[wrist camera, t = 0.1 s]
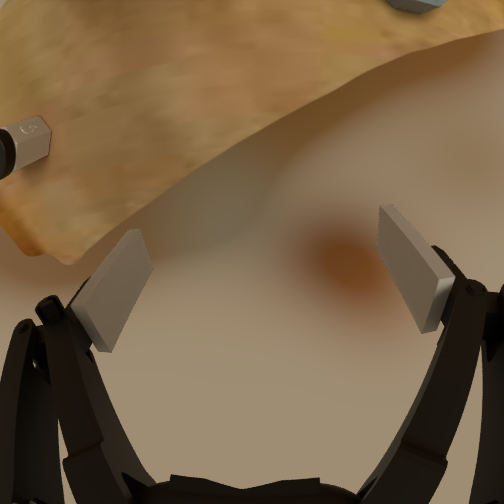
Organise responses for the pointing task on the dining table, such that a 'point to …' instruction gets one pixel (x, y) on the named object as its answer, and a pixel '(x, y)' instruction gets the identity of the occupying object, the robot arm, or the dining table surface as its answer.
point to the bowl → (417, 5)
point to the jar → (23, 144)
